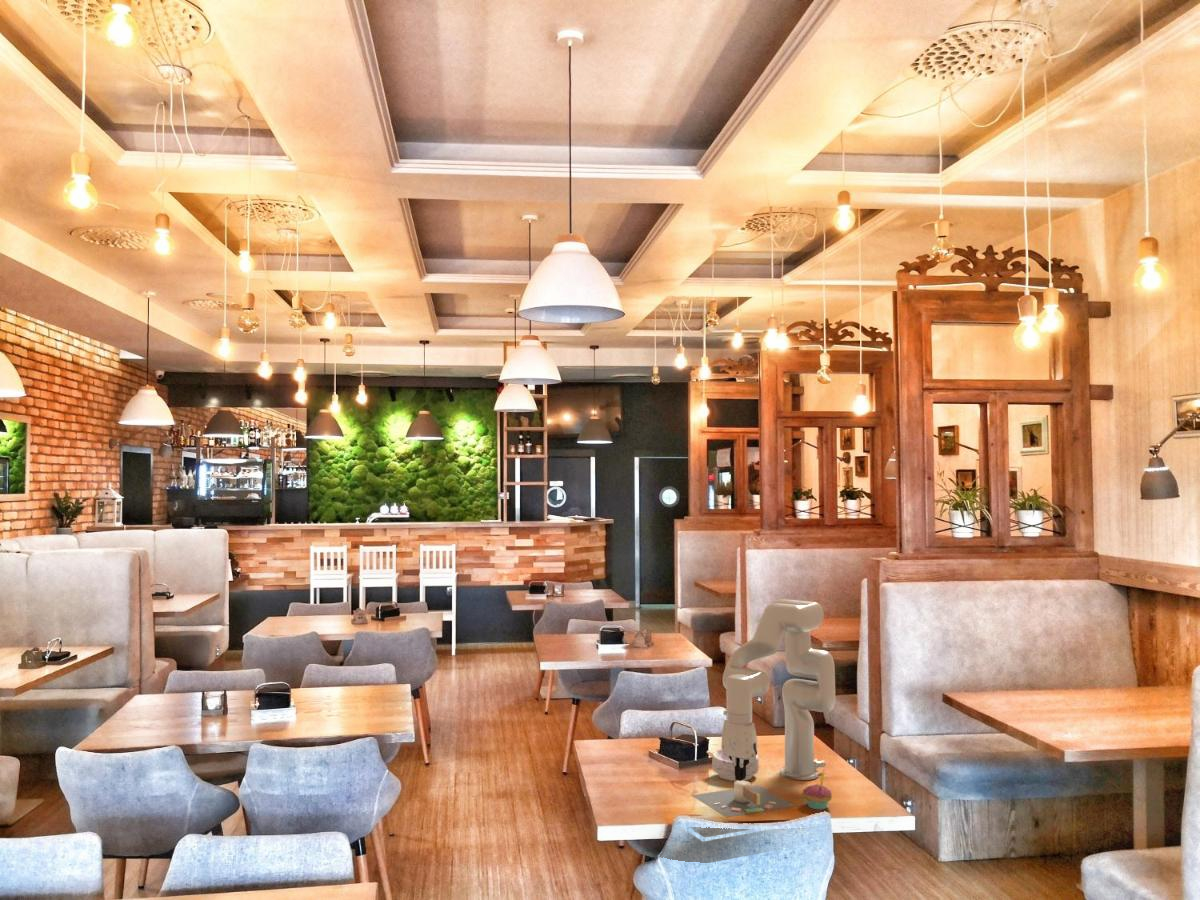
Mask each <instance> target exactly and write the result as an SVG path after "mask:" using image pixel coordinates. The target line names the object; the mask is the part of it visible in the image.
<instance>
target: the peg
mask: <svg viewBox="0 0 1200 900" xmlns="http://www.w3.org/2000/svg"><path fill="white" fill-rule="evenodd" d="M751 786H752V783H751V782H749V781H748V780H744V781H733V787H734V788H733V789H734V800H735V801H737V802H741V803H747V802H750V801H751V802H753V803H754V804H757V805H760V793H758V792H757V791H755V790H754V789H752V788H751Z"/></svg>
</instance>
